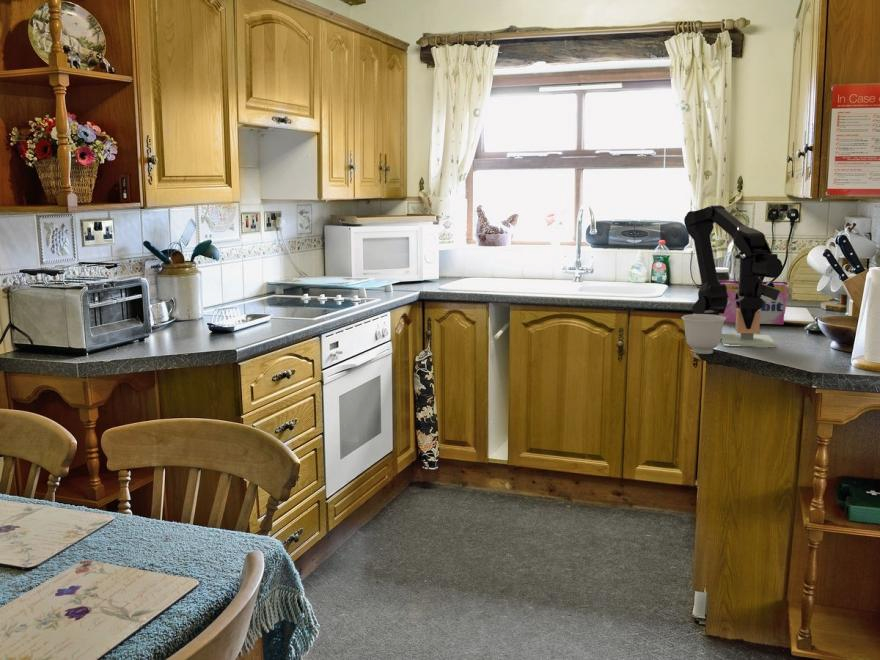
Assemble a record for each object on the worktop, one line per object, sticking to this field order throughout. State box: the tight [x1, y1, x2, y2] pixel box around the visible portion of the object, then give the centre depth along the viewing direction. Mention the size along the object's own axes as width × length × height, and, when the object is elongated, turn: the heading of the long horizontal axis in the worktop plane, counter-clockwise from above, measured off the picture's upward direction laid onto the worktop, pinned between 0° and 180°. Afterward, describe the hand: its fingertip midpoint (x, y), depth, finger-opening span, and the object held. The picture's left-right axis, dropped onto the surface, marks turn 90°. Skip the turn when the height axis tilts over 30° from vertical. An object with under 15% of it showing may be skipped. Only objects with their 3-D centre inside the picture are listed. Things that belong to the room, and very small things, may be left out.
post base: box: [720, 333, 777, 348], centre depth 245 cm, size 14×14×6 cm
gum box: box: [719, 280, 790, 325], centre depth 281 cm, size 24×8×14 cm, turn 68°
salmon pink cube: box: [734, 308, 761, 335], centre depth 245 cm, size 6×6×7 cm
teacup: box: [680, 313, 726, 355], centre depth 234 cm, size 12×15×10 cm
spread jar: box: [716, 267, 731, 281], centre depth 347 cm, size 12×11×12 cm
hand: (747, 327), depth 245 cm, fingers closed on salmon pink cube, 6 cm apart
